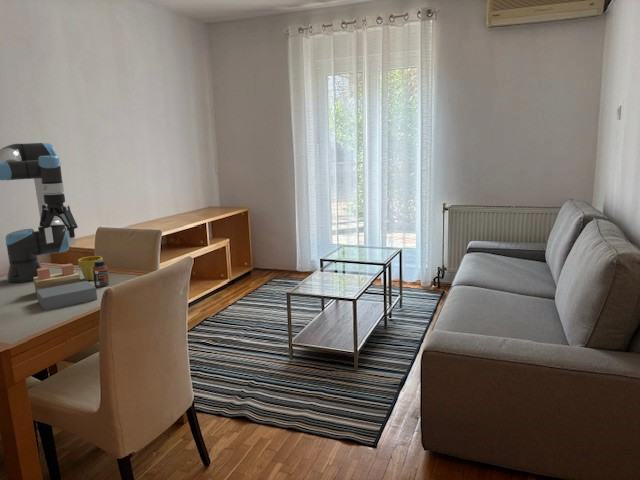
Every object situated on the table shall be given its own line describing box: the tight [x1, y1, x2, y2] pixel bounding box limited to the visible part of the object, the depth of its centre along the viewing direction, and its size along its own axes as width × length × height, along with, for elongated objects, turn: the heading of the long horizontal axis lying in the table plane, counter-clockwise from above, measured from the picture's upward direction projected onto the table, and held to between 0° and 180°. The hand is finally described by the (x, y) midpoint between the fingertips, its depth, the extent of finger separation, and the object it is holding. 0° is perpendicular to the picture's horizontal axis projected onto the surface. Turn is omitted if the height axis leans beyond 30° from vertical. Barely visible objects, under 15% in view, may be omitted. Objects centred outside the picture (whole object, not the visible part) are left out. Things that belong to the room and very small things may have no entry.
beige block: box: [33, 270, 81, 294], centre depth 205 cm, size 10×16×7 cm, turn 129°
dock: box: [35, 280, 98, 311], centre depth 192 cm, size 14×19×5 cm
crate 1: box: [37, 266, 51, 280], centre depth 201 cm, size 4×4×4 cm
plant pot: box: [77, 255, 103, 281], centre depth 224 cm, size 10×10×10 cm
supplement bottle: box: [93, 260, 110, 288], centre depth 211 cm, size 6×6×11 cm
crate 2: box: [60, 263, 75, 276], centre depth 207 cm, size 4×4×4 cm
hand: (60, 244), depth 199 cm, fingers open, 13 cm apart
